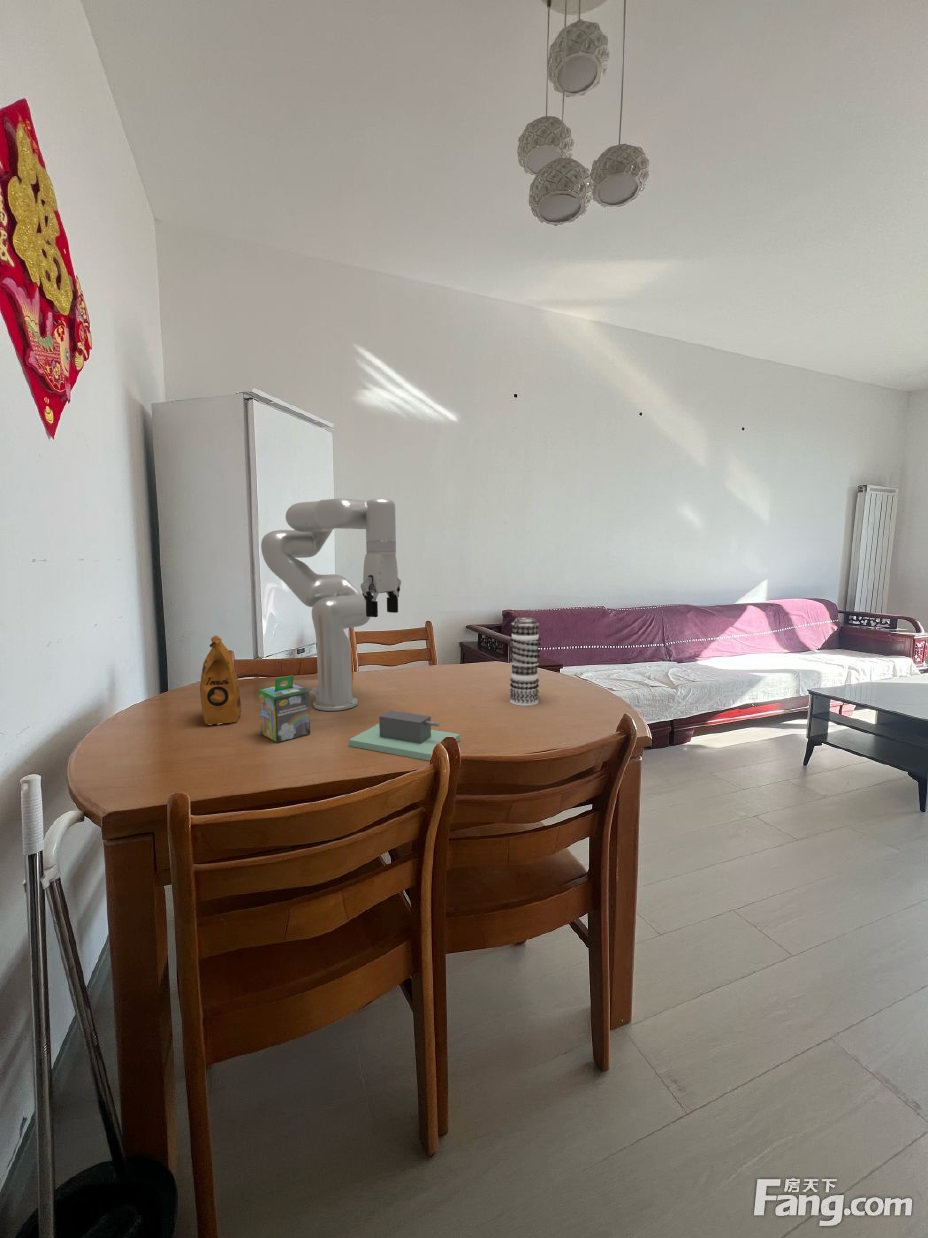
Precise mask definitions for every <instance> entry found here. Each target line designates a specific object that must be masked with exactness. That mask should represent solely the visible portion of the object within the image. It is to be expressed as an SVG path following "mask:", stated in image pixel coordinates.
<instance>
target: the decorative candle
mask: <svg viewBox="0 0 928 1238" xmlns="http://www.w3.org/2000/svg"><path fill="white" fill-rule="evenodd" d="M539 625H540V623H538V621H537V620H536V619H535V618H533V617H517V618H515V619H514V621H513V622H511V626H512V628H511V629H512V630H511V631H512V633H511V637H510V638H509V640H510V641H511V642H509V647H510V649H509V652H510V654H509V658H510V660H509V663H510V665H511V675H510V679H509V681H510V682H511V683H510V684H509V686H510V687H511V688H510V689H509V692H510V694H509V698H510V699H509V702H510V703H511V704H513V705H516V706H521V707H529V706H534V705H538V704H539V697H540V696H539V693H540V690H539V689H538V688H539V686H540V684H539V681H540V679H539V673H538V666H539V664H540V661H539V660H538V659H539V658H540V657H541V655H540V654H539V653H541V650H540V648H538V647H540V646H541V645H542V644H541V643H540V641H542V638H541V637H539V635H540V634H539Z"/></svg>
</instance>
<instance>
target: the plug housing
mask: <svg viewBox="0 0 928 1238" xmlns="http://www.w3.org/2000/svg"><path fill="white" fill-rule="evenodd" d="M378 718H379V720H378V721H379V722H378V724H379V728H380V737H383V738H389V739H395V740H400V741H406V742H412V743H418V744H421V743H423V742H424V741H426V740H427V739H429V738H430V737H431V730H432V727H439V726H440V722H438V721H432V716H430V715H422V714H416V713H409V712H404V711H395V710H389V711H387V712H384V713H383V714H381V715H379V716H378Z"/></svg>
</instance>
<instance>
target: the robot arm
mask: <svg viewBox="0 0 928 1238" xmlns="http://www.w3.org/2000/svg"><path fill="white" fill-rule="evenodd" d="M285 521H286V524H287V525H288V526H289V527H290V528H291V529H278V530H277V529H276V530H272V531H269V532H267V533H266V534H265V535H264V536H263V537H262V539H261V543H260V549H261V554H262V557H263V560H264V562H265V564H266V566H267V567H268V568H269V570H270V571H271V573H273V574H274V575H275V576H276V577H278V578H279V580H281V581H282V582H283V583H284V584H285V585H286V586H287V587H288V588H289V589H290V590H291V592H292V593H293V594H294V596H296V598H297V599H298V600H299V601H300V602H301V603H303V605H305V606H307V607H309V608H311V618H312V619H311V620H312V624H313V628H314V632H315V633H314V634H315V639H316V640H315V641H316V644H315V645H316V660H317V661H316V663H317V664H316V665H317V684H318V685H317V686H318V687H312V688H311V690H310V691H309V697H315V700H313V705H312V706H313V708H315V709H316V710H319V711H326V712H336V711H344V710H349V709H351V708H355V707H356V706H358V704H359V700H358V698H357V697H355V696H353V679H352V676H353V675H352V648H351V647H352V646H351V642H350V639H349V638H348V635H347V634H346V632H345V629H350V628H357V627H361V626H364V625H366V624H367V623H368V622H369V621H370V620H371V618H377V617H378V616H379V608H378V601H377V600H378V599H377V598H378V597H379V595H380V594H385V593H386V595H387V596H388V597H386V612H387V613H392V614H395V613H399V597H400V591H401V584H402V580H401V579H400V578H399V576H398V575H399V574H398V573H399V572H398V571H399V570H398V562H397V557H396V554H397V542H396V538H397V537H396V534H397V532H396V527H397V526H396V504H395V502H394V501H393V500H391V499H387V498H371V499H368V500H364V499H363V500H362V499H355V498H354V499H353V498H328V499H320V500H315V501H304V502H302V501H301V502H296V503H293V504H292V505H291V506H289V507H288V509H287V510H286V513H285ZM335 529H346V530H349V529H350V530H352V529H353V530H356V529H357V530H365V537H366V538H365V540H366V543H365V544H366V545H365V546H366V548H365V549H366V551H365V552H366V554H364V555H365V557H364V561H363V574H362V575H363V577H362V583H360V588H361V591H362V593H361V592H360V591H359V589H357V588H356V586H354V585H353V584H352V583H351V582H350V580H349V579H347V578H346V577H344V576H343V575H340V574H333V573H332V574H319V573H316V572H314V571H313V570H312V568H311V567H309V566H308V564H306V562H303V561H302V560H300V559H299V558H302V559H303V558H305V559H306V558H312V557H314V556H316V555H317V554H318V553H319V552H320V551H321V550H322V548H323V547H324V545H325V543H326V541H327V540H328V539H329V537H330V535H331V534H332V532H333V530H335Z"/></svg>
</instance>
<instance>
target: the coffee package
mask: <svg viewBox="0 0 928 1238" xmlns="http://www.w3.org/2000/svg"><path fill="white" fill-rule="evenodd" d="M210 640H211V643H210V644H209V648H210V651H209V652H208V653H207V655H206V656H205V658H204V661H203V663H202V669H201V676H200V683H199V684H200V686H199V693H200V702H201V703H200V704H201V709H202V716H203V721H204V724H206V725H207V724H218V723H231V722H236V721H237V720H238V721H239V718H240V716H241V714H242V703H241V702H242V700H241V692H240V685H239V680H238V675H237V671H236V667H235V664H234V660H233V657H232V655H231V653H230V650H229V649H228V648H227V647H226V646H225V645H224V643H223V642H222V640H223V639H222V638H221V637H220V636H218V635H213V636H211V638H210ZM238 721H237V722H238ZM231 724H232V723H231Z"/></svg>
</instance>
